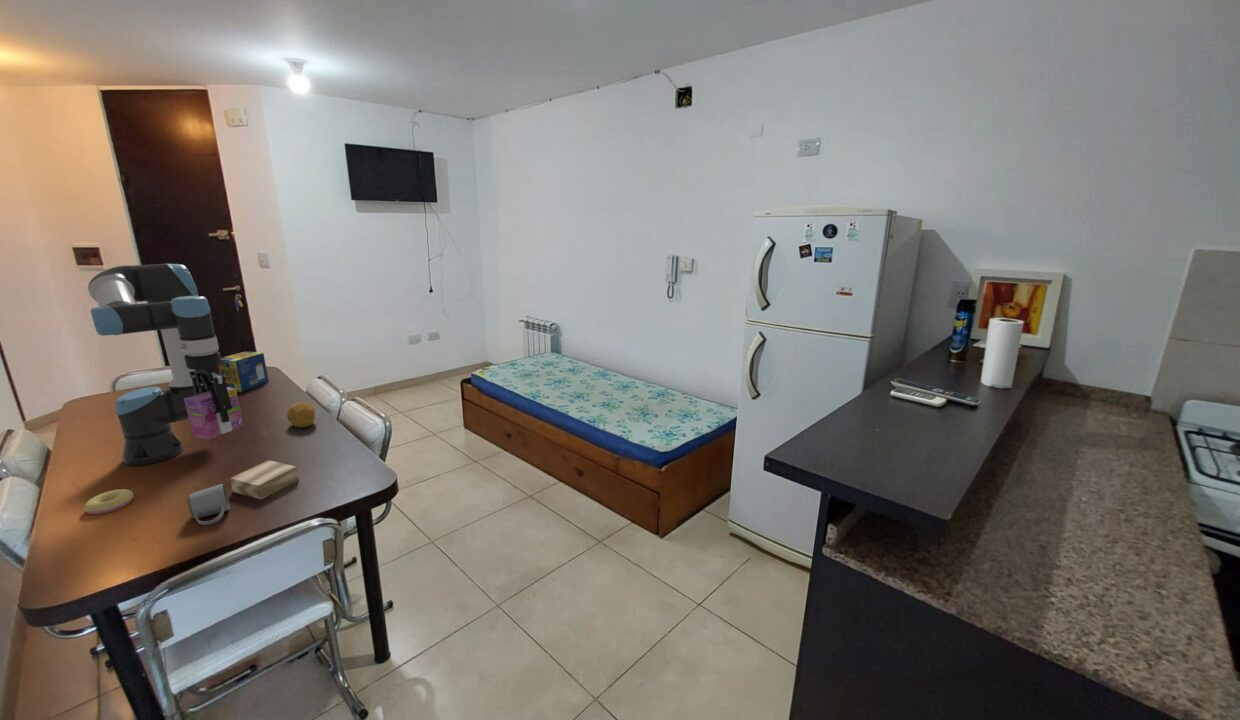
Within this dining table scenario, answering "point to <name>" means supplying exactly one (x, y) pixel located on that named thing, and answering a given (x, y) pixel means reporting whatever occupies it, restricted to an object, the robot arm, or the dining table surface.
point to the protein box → (244, 370)
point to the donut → (108, 501)
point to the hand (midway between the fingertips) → (219, 429)
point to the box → (210, 414)
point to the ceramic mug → (208, 503)
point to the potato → (301, 414)
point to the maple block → (264, 479)
